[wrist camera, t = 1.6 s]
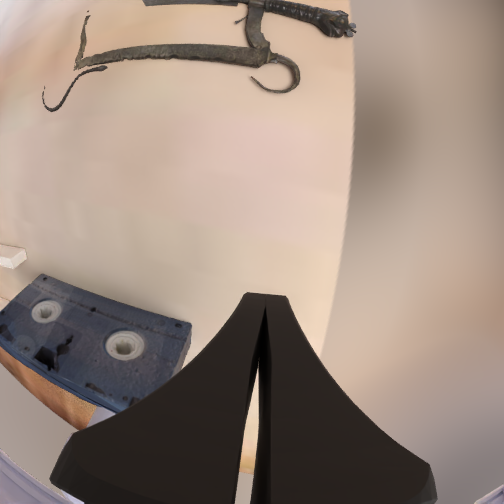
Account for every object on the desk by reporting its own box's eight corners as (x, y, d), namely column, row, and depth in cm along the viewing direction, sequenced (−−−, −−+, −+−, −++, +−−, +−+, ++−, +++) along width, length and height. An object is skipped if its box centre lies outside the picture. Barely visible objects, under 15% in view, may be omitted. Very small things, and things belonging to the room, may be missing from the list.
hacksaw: (356, 22, 12) (361, 14, 11) (323, 151, 16) (327, 153, 15) (68, 11, 11) (58, 8, 10) (42, 112, 16) (31, 113, 15)
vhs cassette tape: (45, 290, 24) (-7, 343, 15) (41, 268, 23) (-18, 320, 14) (191, 345, 24) (160, 434, 15) (194, 323, 23) (159, 417, 14)
